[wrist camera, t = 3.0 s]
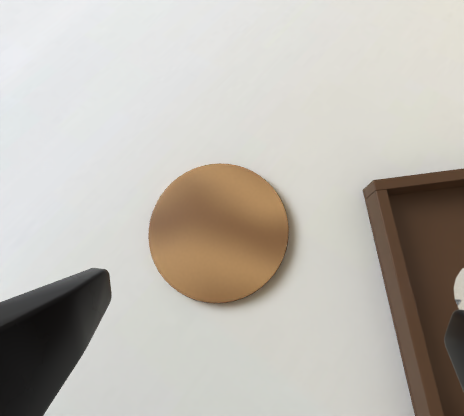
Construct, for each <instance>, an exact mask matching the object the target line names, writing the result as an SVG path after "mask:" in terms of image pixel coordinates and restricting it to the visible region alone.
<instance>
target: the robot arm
mask: <svg viewBox="0 0 464 416" xmlns="http://www.w3.org/2000/svg"><path fill="white" fill-rule="evenodd" d="M110 301H111V286H110V277H109V273H108V271H107V270H106V269H98V268H91V269H88V270H86V271H83V272H80V273H78V274H75V275H72V276H70V277H67V278H64V279H62V280H59V281H56V282H54V283H51V284H48V285H45V286H43V287H40V288H37V289H35V290H32V291H29V292H27V293H24V294H21V295H19V296H16V297H13V298H11V299H8V300H5V301H3V302H0V416H43V415H44V413H45V412H46V410H47V409H48V407H49V406H50V404H51V403H52V401H53V400H54V398H55V396H56V395H57V393H58V392H59V390H60V389H61V387H62V386H63V384H64V383H65V381H66V380H67V378H68V376H69V375H70V373H71V372H72V370H73V369H74V367H75V366H76V364H77V363H78V361H79V359H80V358H81V356H82V355H83V353H84V351H85V350H86V348H87V346H88V344H89V342H90V340H91V338H92V336H93V335H94V333H95V331H96V329H97V327H98V325H99V323H100V321H101V319H102V317H103V315H104V313H105V311H106V309H107V308H108V306H109V304H110ZM444 342H445V347H446V349H447V352H448V354H449V357H450V359H451V362H452V364H453V367H454V369H455V372H456V374H457V377H458V379H459V382H460V384H461V387H462V389H463V392H464V310H460V309H458V310H455V311H454V312H453V313H452V316H451V318H450V321H449V324H448V327H447V330H446V333H445V337H444Z"/></svg>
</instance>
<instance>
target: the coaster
mask: <svg viewBox="0 0 464 416" xmlns="http://www.w3.org/2000/svg"><path fill="white" fill-rule="evenodd" d="M288 233H289V228H288V219H287V215H286V211H285V208H284V206H283V203H282V201H281V199H280V197H279V195H278V194H277V193H276V191H275V190H274V189H273V187H272V186H271V185H270V184H269V183H268V182H267V181H266V180H264V179H263V178H262V177H261V176H259V175H258V174H256V173H254V172H253V171H251V170H248V169H246V168H243V167H240V166H237V165H231V164H210V165H205V166H201V167H198V168H195V169H192V170H190V171H188V172H186V173H184V174H183V175H181V176H180V177H178V178H177V179H176V180H175V181H173V182H172V183H171V184H170V185H169V186H168V187H167V188H166V189H165V191H164V192H163V193H162V195H161V196H160V198H159V199H158V201H157V203H156V205H155V207H154V210H153V212H152V216H151V219H150V224H149V247H150V251H151V256H152V258H153V261H154V263H155V265H156V267H157V269H158V271H159V273H160V274H161V275H162V277H163V278H164V279H165V280H166V281H167V282H168V283H169V284H170V285H171V286H172V287H173V288H174V289H176V290H177V291H178V292H180V293H182V294H183V295H185V296H187V297H189V298H192V299H194V300H198V301H202V302H208V303H226V302H231V301H235V300H239V299H242V298H244V297H246V296H248V295H250V294H252V293H254V292H255V291H257V290H258V289H260V288H261V287H262V286H263V285H265V284H266V283H267V282H268V281H269V280H270V279H271V277H272V276H273V275H274V274H275V272H276V271H277V269H278V268H279V266H280V264H281V262H282V260H283V258H284V255H285V252H286V249H287V243H288Z"/></svg>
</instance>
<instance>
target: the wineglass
mask: <svg viewBox="0 0 464 416" xmlns="http://www.w3.org/2000/svg"><path fill="white" fill-rule="evenodd" d="M454 296H455V301H456V304H457V306H458V308H459V309H460V310H464V268H463V269H462V270H461V271H460V273H459V274H458V276H457V277H456V280H455V284H454Z"/></svg>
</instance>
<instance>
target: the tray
mask: <svg viewBox="0 0 464 416" xmlns="http://www.w3.org/2000/svg"><path fill="white" fill-rule="evenodd" d="M363 193H364V197H365V202H366V206H367V210H368V215H369V219H370V223H371V228H372V232H373V236H374V241H375V245H376V249H377V253H378V258H379V262H380V266H381V271H382V275H383V279H384V284H385V288H386V292H387V297H388V301H389V305H390V309H391V314H392V318H393V322H394V327H395V331H396V335H397V340H398V344H399V348H400V353H401V357H402V361H403V366H404V370H405V374H406V378H407V383H408V387H409V391H410V396H411V400H412V404H413V409H414V413H415V416H464V392H463V389H462V387H461V384H460V382H459V379H458V377H457V374H456V372H455V369H454V367H453V364H452V362H451V359H450V357H449V354H448V352H447V349H446V347H445V342H444V337H445V333H446V330H447V327H448V324H449V321H450V318H451V316H452V313H453V312H454V311H455V310H458V309H459V308H458V306H457V304H456V301H455V296H454V284H455V280H456V277H457V276H458V274H459V273H460V271H461V270H462V269H463V268H464V169H457V170H449V171H441V172H434V173H426V174H418V175H410V176H403V177H395V178H387V179H380V180H373V181H372V182H371V183H370V184H369V185H368V186H367V187H366V188H365V189H363Z"/></svg>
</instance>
